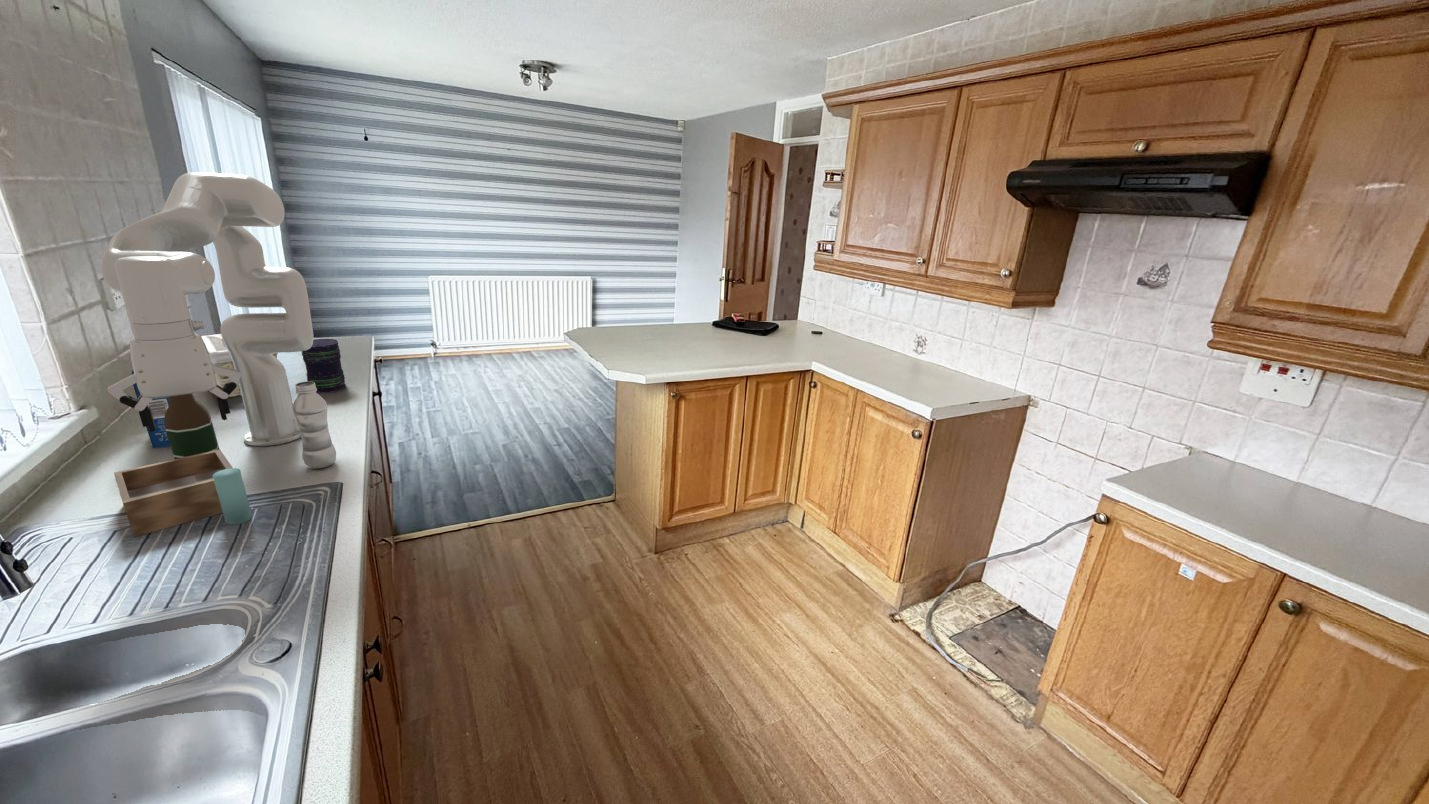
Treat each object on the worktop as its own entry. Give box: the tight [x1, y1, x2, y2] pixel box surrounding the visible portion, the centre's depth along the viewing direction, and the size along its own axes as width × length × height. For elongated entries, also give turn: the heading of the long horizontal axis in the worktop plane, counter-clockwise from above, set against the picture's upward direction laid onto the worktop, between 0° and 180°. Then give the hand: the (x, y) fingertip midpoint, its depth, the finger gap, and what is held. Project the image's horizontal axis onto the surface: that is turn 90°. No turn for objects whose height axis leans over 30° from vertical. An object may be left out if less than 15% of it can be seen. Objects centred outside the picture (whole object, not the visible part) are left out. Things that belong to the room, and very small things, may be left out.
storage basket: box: [201, 333, 279, 398], centre depth 175 cm, size 24×16×15 cm
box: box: [113, 448, 234, 538], centre depth 111 cm, size 16×16×7 cm
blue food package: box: [131, 369, 171, 449], centre depth 136 cm, size 6×12×25 cm, turn 40°
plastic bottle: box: [292, 380, 337, 470], centre depth 127 cm, size 6×7×20 cm
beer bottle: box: [164, 393, 220, 460], centre depth 122 cm, size 8×8×24 cm
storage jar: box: [301, 338, 347, 394], centre depth 176 cm, size 10×10×15 cm
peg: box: [213, 467, 253, 526], centre depth 107 cm, size 4×4×10 cm
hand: (189, 423), depth 102 cm, fingers open, 9 cm apart
